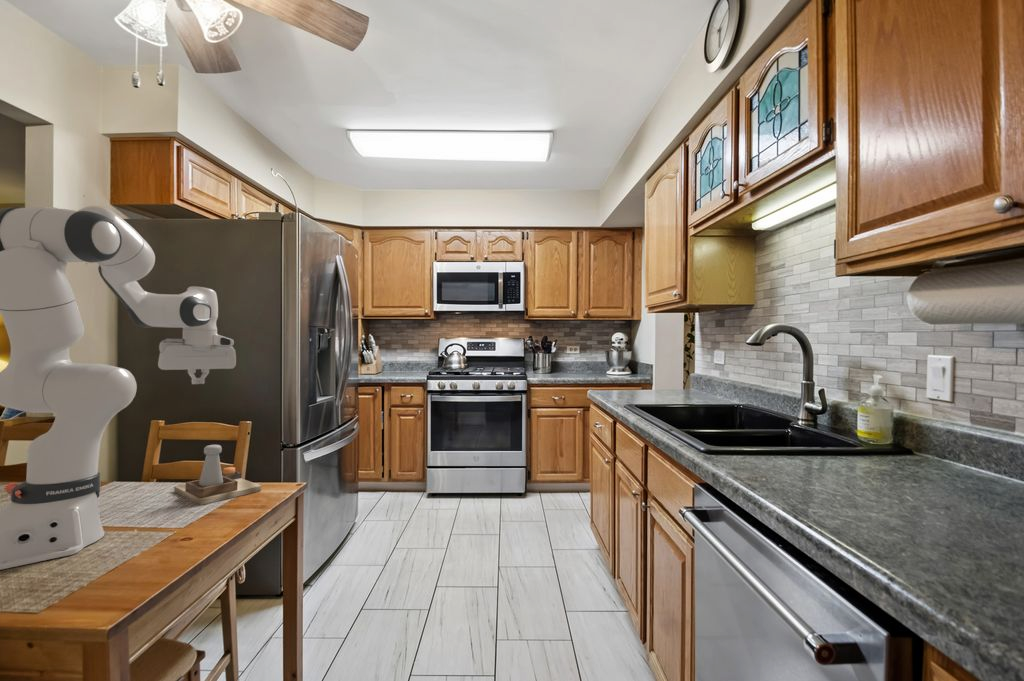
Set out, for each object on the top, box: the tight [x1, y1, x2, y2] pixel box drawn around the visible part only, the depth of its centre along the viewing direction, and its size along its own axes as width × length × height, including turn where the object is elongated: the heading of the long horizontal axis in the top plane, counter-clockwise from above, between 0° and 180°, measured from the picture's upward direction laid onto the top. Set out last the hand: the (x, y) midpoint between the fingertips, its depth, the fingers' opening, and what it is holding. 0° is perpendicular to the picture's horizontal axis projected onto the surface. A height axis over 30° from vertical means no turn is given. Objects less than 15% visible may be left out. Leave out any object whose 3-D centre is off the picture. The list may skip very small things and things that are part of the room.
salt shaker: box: [199, 444, 223, 488], centre depth 130 cm, size 6×6×13 cm
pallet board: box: [173, 470, 262, 506], centre depth 134 cm, size 16×18×4 cm
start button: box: [222, 466, 236, 476], centre depth 142 cm, size 3×3×2 cm
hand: (198, 383), depth 140 cm, fingers closed
